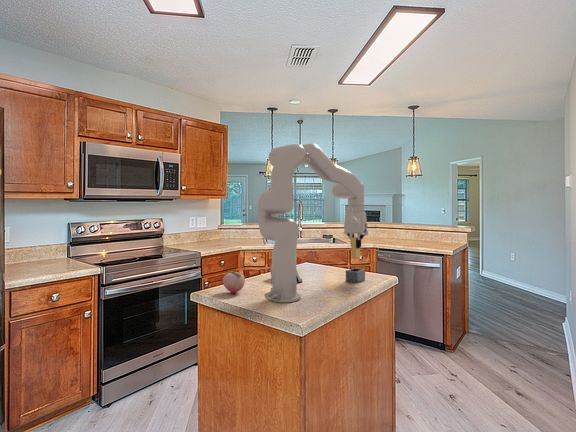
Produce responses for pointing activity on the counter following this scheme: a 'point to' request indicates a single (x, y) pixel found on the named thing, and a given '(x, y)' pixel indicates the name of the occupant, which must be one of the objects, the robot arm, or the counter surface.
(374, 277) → the counter surface
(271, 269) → the hinge
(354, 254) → the tan rectangular block
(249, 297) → the counter surface
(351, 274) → the dark grey open box
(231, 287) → the decorative fruit
